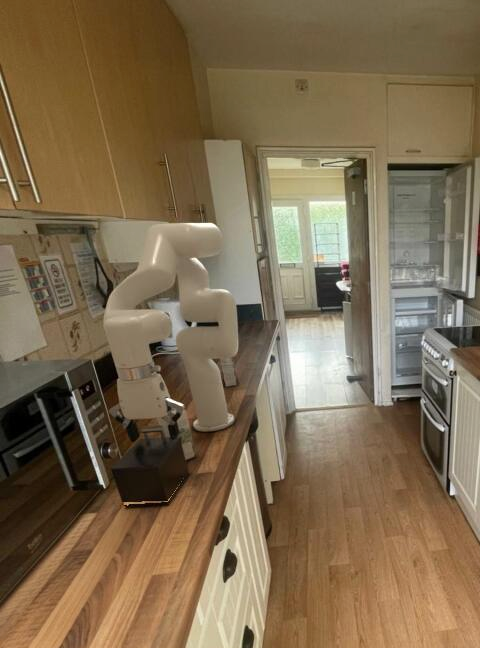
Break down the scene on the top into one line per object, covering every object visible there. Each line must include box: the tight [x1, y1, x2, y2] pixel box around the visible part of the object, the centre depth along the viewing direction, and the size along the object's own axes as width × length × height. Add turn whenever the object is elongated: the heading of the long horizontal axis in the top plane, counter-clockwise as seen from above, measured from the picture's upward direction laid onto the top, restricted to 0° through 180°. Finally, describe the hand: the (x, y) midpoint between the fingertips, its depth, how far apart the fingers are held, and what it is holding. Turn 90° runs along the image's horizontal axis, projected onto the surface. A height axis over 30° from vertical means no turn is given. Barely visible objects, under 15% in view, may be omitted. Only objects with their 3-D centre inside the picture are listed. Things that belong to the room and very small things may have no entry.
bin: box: [111, 441, 190, 509], centre depth 103 cm, size 14×10×10 cm
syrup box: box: [156, 408, 197, 461], centre depth 116 cm, size 6×6×14 cm
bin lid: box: [110, 425, 182, 473], centre depth 100 cm, size 14×10×5 cm
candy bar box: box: [218, 357, 238, 388], centre depth 173 cm, size 11×5×16 cm, turn 22°
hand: (155, 438), depth 104 cm, fingers open, 9 cm apart
